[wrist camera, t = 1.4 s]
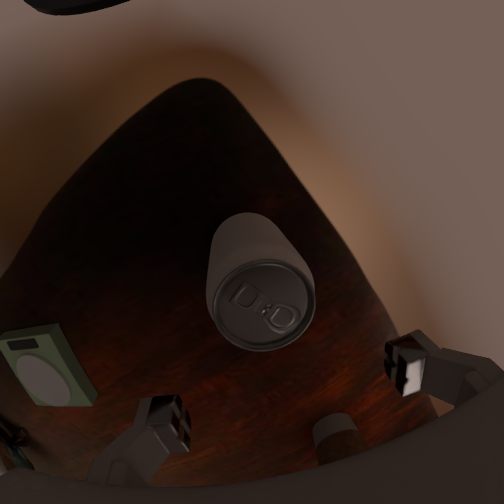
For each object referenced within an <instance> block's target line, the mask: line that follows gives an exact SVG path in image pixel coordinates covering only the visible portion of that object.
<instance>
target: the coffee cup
mask: <svg viewBox="0 0 504 504" xmlns="http://www.w3.org/2000/svg"><path fill="white" fill-rule="evenodd" d="M312 433H313V438H314V442H315V447H316V453H317V458H318V464H319V466H321V465H324V464H328V463H331V462H334V461H338V460H341V459H344V458H347V457H350V456H353V455H356V454H358V453H361V452H364V451H366V450H369V449H370V448H369V446H368V445H367V443H366V442H365V440H364V438H363V437H362V435H361V434H360V432H359V431H358V429H357V428H356V426H355V424H354V423H353V421H352V419H351V418H350V416H349V415H348V414H345V413H334V414H330V415H328V416H325V417H323V418H322V419H320V420H319V421H318V422H316V424H315V425H314V426H313V429H312Z"/></svg>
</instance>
